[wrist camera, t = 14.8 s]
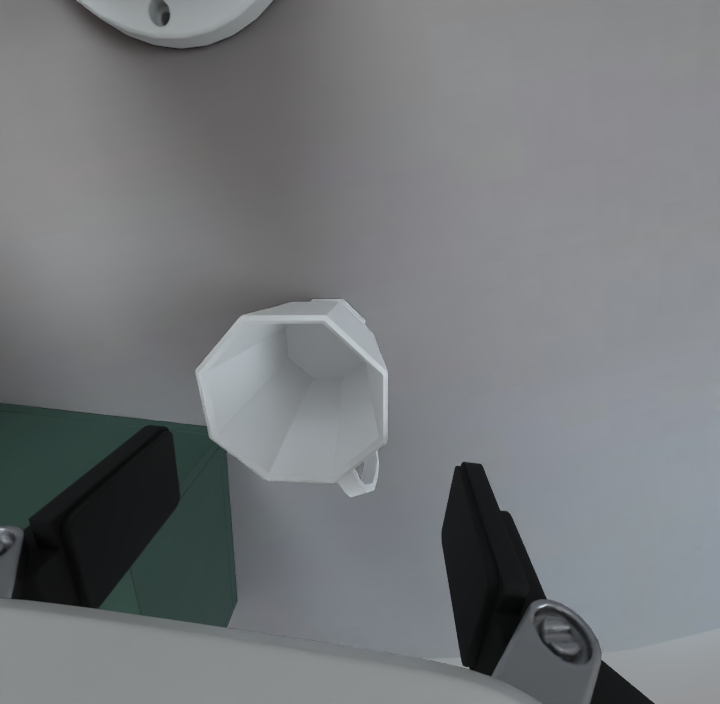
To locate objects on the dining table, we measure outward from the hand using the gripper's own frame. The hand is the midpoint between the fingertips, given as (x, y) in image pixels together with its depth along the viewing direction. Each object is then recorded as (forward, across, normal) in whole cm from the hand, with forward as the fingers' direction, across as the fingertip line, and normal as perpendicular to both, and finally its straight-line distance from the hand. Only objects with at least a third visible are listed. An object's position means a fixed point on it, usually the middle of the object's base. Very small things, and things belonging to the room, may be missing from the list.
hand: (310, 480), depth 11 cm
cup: (+10, 0, -1) cm, 10 cm away
